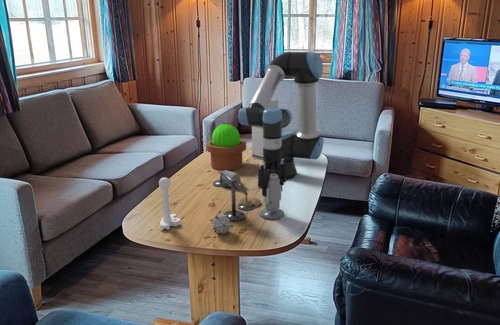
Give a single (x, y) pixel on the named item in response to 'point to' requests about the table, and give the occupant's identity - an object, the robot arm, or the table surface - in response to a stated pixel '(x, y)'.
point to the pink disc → (254, 201)
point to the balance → (245, 203)
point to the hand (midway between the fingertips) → (272, 200)
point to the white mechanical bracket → (167, 207)
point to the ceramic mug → (231, 176)
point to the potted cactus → (226, 148)
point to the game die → (221, 223)
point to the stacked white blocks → (260, 135)
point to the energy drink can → (273, 193)
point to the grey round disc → (272, 214)
